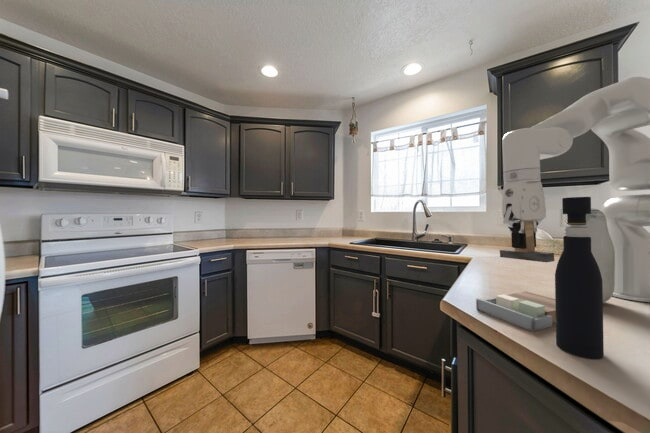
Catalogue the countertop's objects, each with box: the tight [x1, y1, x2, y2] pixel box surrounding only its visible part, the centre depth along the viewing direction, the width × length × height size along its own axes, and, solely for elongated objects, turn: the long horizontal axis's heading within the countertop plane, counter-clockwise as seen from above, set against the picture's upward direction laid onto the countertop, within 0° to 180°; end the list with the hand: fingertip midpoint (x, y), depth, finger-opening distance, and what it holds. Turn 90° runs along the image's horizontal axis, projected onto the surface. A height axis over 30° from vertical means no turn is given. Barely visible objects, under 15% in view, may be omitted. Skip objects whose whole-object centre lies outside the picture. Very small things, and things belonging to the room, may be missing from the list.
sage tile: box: [519, 300, 545, 318], centre depth 60 cm, size 4×4×3 cm
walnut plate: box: [507, 291, 556, 324], centre depth 66 cm, size 12×12×3 cm
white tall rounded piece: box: [562, 207, 615, 303], centre depth 72 cm, size 10×10×28 cm
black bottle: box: [554, 196, 605, 360], centre depth 47 cm, size 6×6×30 cm
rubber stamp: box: [499, 221, 555, 263], centre depth 63 cm, size 11×3×10 cm, turn 18°
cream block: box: [495, 293, 519, 312], centre depth 65 cm, size 4×4×3 cm
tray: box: [475, 297, 553, 332], centre depth 63 cm, size 7×14×3 cm, turn 19°
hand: (523, 246), depth 63 cm, fingers closed on rubber stamp, 3 cm apart
